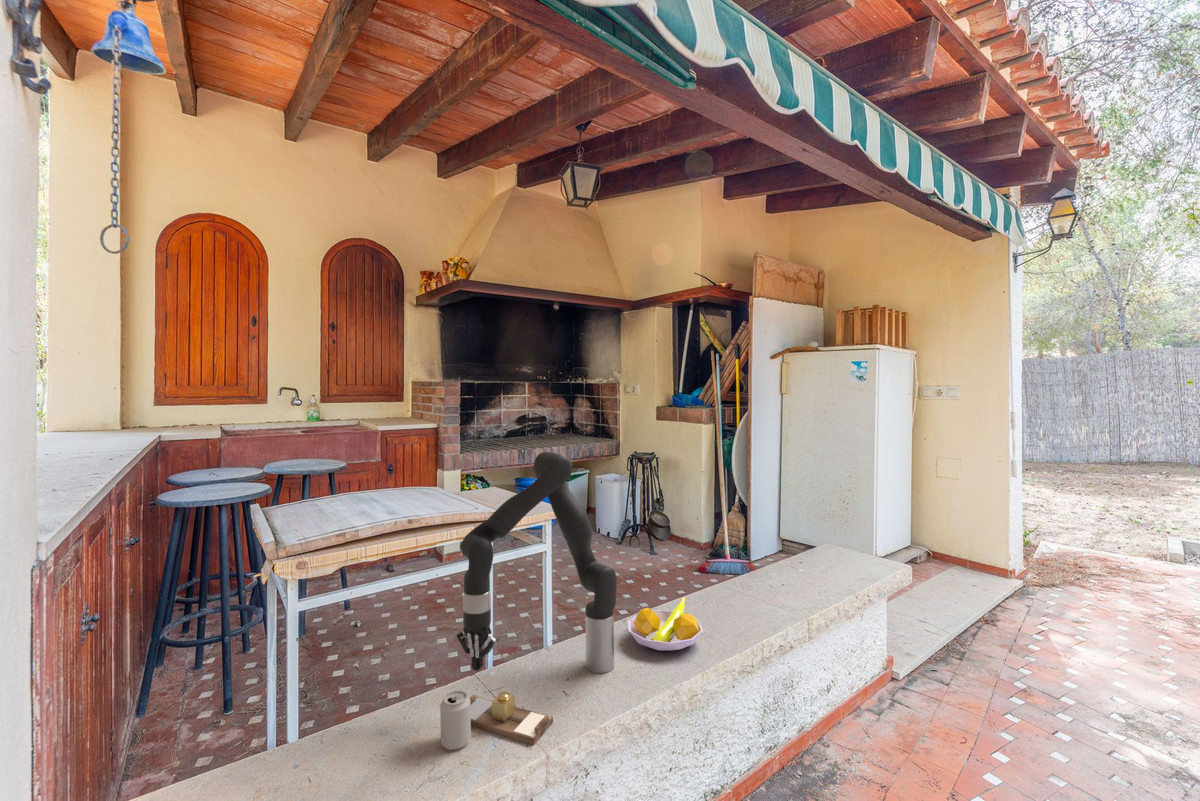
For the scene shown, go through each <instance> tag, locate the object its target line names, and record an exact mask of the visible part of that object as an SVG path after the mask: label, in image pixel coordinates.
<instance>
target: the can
mask: <svg viewBox="0 0 1200 801" xmlns="http://www.w3.org/2000/svg"><path fill="white" fill-rule="evenodd" d="M468 695H469V694H468V692H466V691H464V690H453V691H450V692H448V693H446V694H445V695H443V698H442V701H441V702H440V704H439V706H440V708H439V709H440V710H439V711H440V745H441V747H443V748H445V749H446V750H448V751H457V750H458V751H459V750H461V749H463V748H464V747H466V746H467V744H469V742H470V740H471V738H472V730H471V729H472V726H471V708H470V696H468Z"/></svg>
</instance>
